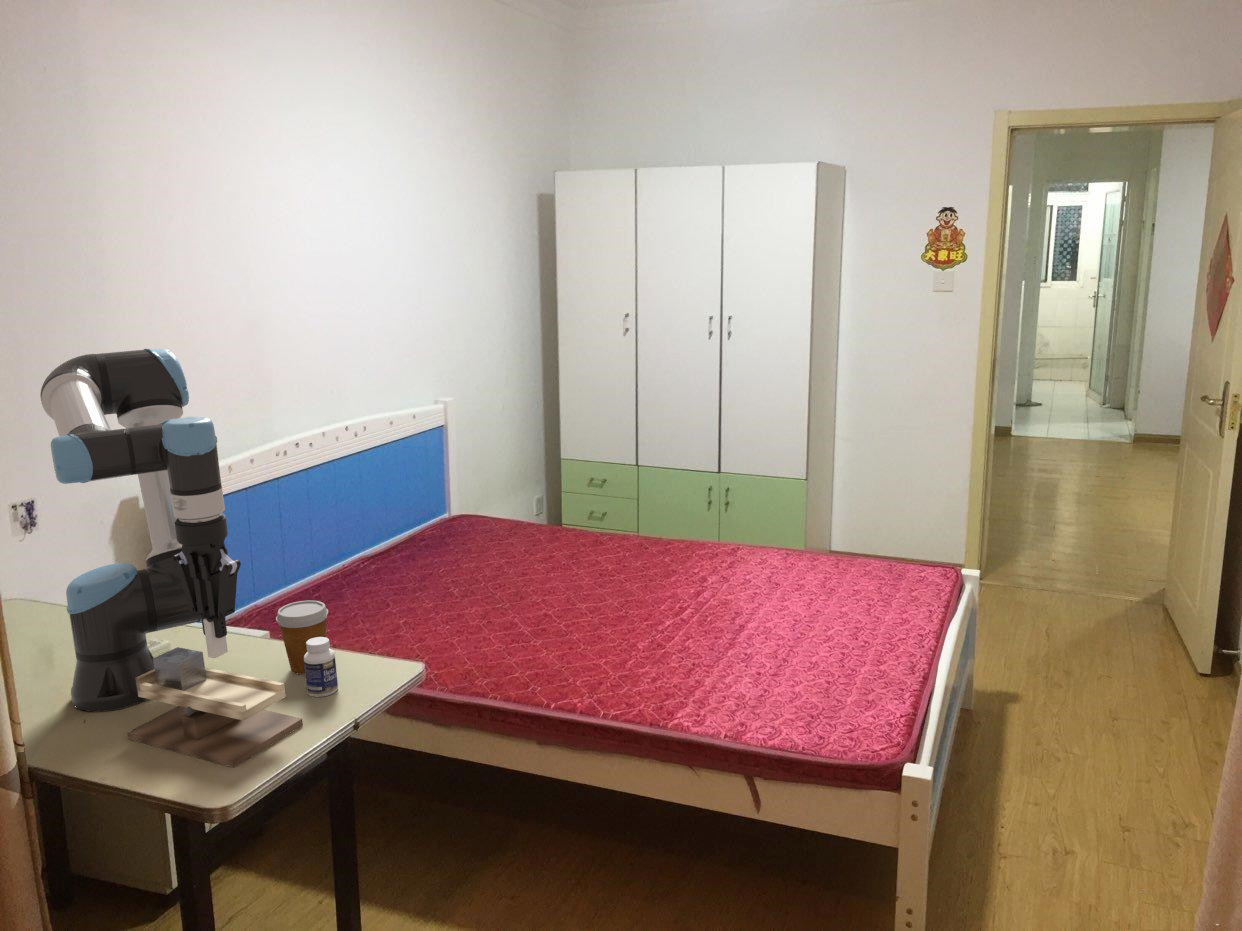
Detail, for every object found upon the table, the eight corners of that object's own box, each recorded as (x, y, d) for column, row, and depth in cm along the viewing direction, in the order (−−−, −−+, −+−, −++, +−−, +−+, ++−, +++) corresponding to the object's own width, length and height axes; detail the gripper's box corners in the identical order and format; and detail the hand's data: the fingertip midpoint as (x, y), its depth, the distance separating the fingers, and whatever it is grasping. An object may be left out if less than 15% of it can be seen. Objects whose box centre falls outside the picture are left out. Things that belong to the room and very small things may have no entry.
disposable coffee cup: (334, 673, 190) (328, 613, 188) (281, 681, 188) (274, 620, 185) (333, 654, 199) (327, 596, 197) (282, 661, 197) (275, 603, 194)
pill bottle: (329, 698, 180) (324, 647, 178) (302, 697, 181) (296, 646, 179) (343, 685, 185) (338, 635, 183) (316, 684, 186) (311, 634, 184)
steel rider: (157, 686, 169) (152, 658, 168) (181, 674, 174) (177, 647, 173) (182, 691, 167) (178, 663, 166) (206, 679, 171) (202, 651, 170)
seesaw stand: (128, 739, 168) (124, 711, 167) (200, 701, 181) (197, 675, 180) (234, 767, 157) (230, 738, 156) (302, 725, 170) (299, 697, 169)
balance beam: (136, 704, 169) (132, 679, 168) (185, 679, 178) (182, 656, 177) (242, 728, 158) (238, 701, 157) (288, 701, 167) (285, 676, 166)
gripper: (150, 518, 159) (170, 656, 165) (210, 527, 153) (229, 670, 159) (189, 505, 165) (207, 639, 171) (248, 513, 160) (265, 652, 165)
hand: (218, 654), depth 165 cm, fingers closed
